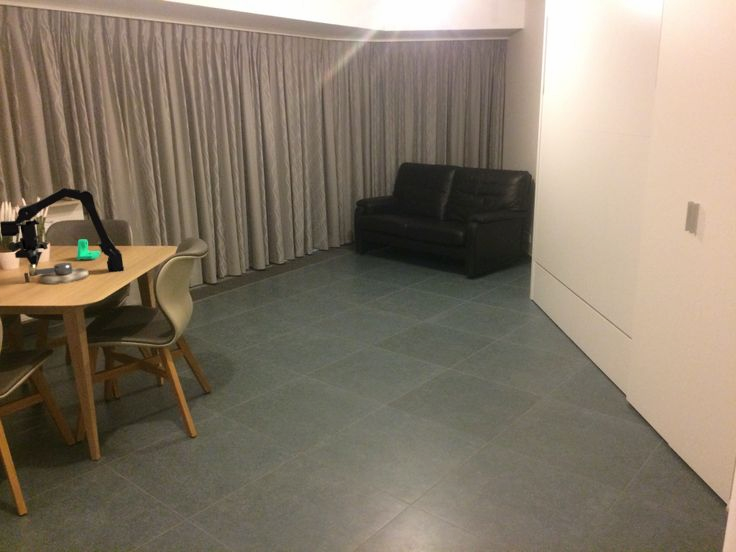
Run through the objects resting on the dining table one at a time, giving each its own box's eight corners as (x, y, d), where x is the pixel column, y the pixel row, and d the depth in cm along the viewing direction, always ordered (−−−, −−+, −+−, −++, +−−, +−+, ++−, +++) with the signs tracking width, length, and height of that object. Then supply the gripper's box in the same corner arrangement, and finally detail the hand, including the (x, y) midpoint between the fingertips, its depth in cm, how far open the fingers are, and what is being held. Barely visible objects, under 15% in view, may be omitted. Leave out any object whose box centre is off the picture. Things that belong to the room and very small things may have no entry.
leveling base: (89, 270, 274) (88, 262, 273) (87, 280, 256) (86, 272, 255) (28, 276, 265) (27, 268, 263) (22, 288, 247) (21, 279, 246)
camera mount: (93, 261, 293) (90, 241, 290) (77, 261, 292) (74, 242, 289) (101, 255, 304) (98, 236, 301) (86, 256, 304) (83, 237, 301)
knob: (72, 270, 265) (70, 258, 264) (72, 273, 259) (70, 261, 258) (30, 275, 258) (28, 263, 256) (29, 279, 252) (27, 266, 250)
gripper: (19, 231, 262) (25, 263, 266) (-1, 239, 244) (5, 274, 248) (45, 230, 263) (50, 263, 267) (26, 239, 245) (32, 273, 249)
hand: (34, 268), depth 258 cm, fingers closed
